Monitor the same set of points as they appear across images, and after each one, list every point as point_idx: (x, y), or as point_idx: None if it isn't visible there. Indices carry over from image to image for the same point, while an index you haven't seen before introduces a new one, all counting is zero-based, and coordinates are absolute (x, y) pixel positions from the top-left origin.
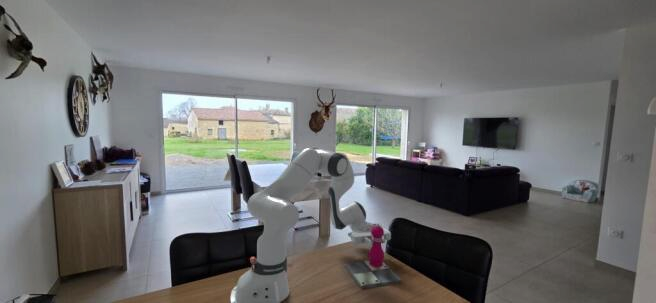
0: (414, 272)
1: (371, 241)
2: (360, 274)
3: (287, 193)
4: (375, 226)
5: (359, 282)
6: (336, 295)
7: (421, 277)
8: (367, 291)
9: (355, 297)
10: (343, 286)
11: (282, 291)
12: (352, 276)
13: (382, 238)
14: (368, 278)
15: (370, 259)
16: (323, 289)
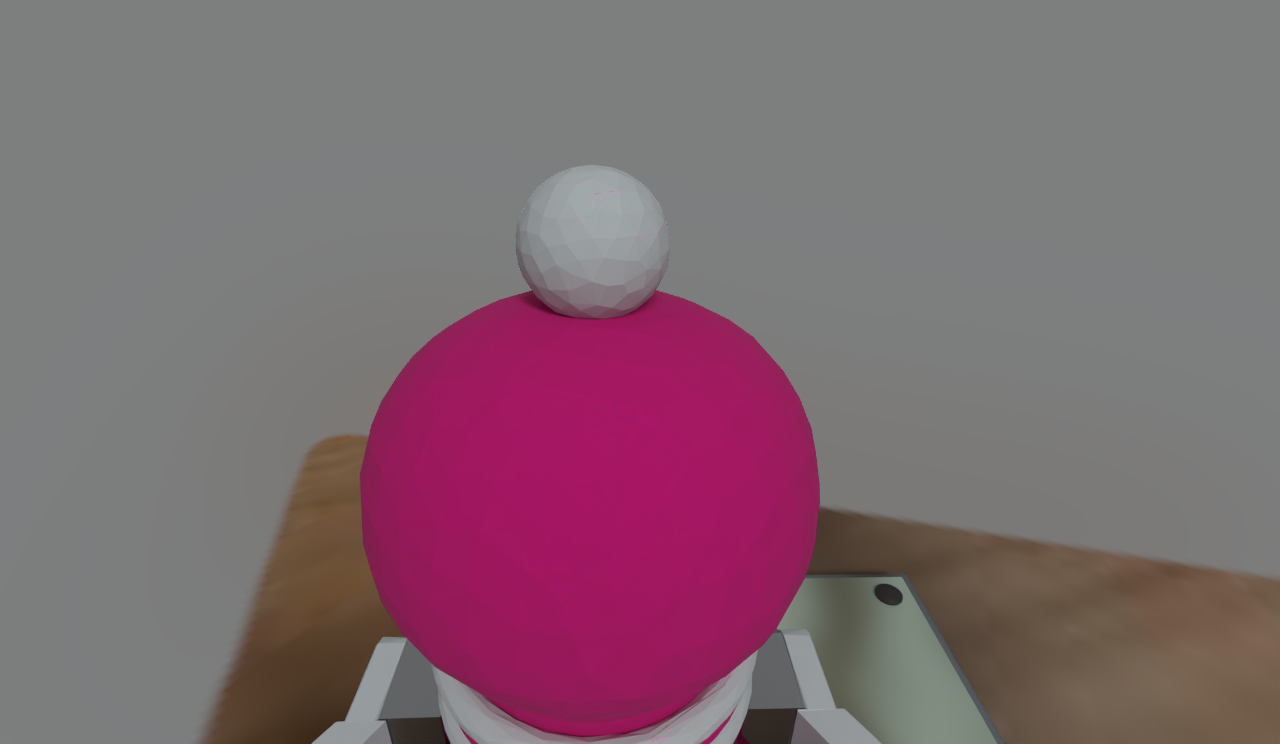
0: (223, 700)
1: (779, 631)
2: (913, 737)
3: None
4: (658, 333)
5: (922, 615)
6: (1102, 565)
7: (267, 610)
8: (848, 556)
9: (944, 526)
10: (1077, 648)
11: None
12: None
13: (379, 720)
14: (823, 647)
15: None
16: (1269, 649)
